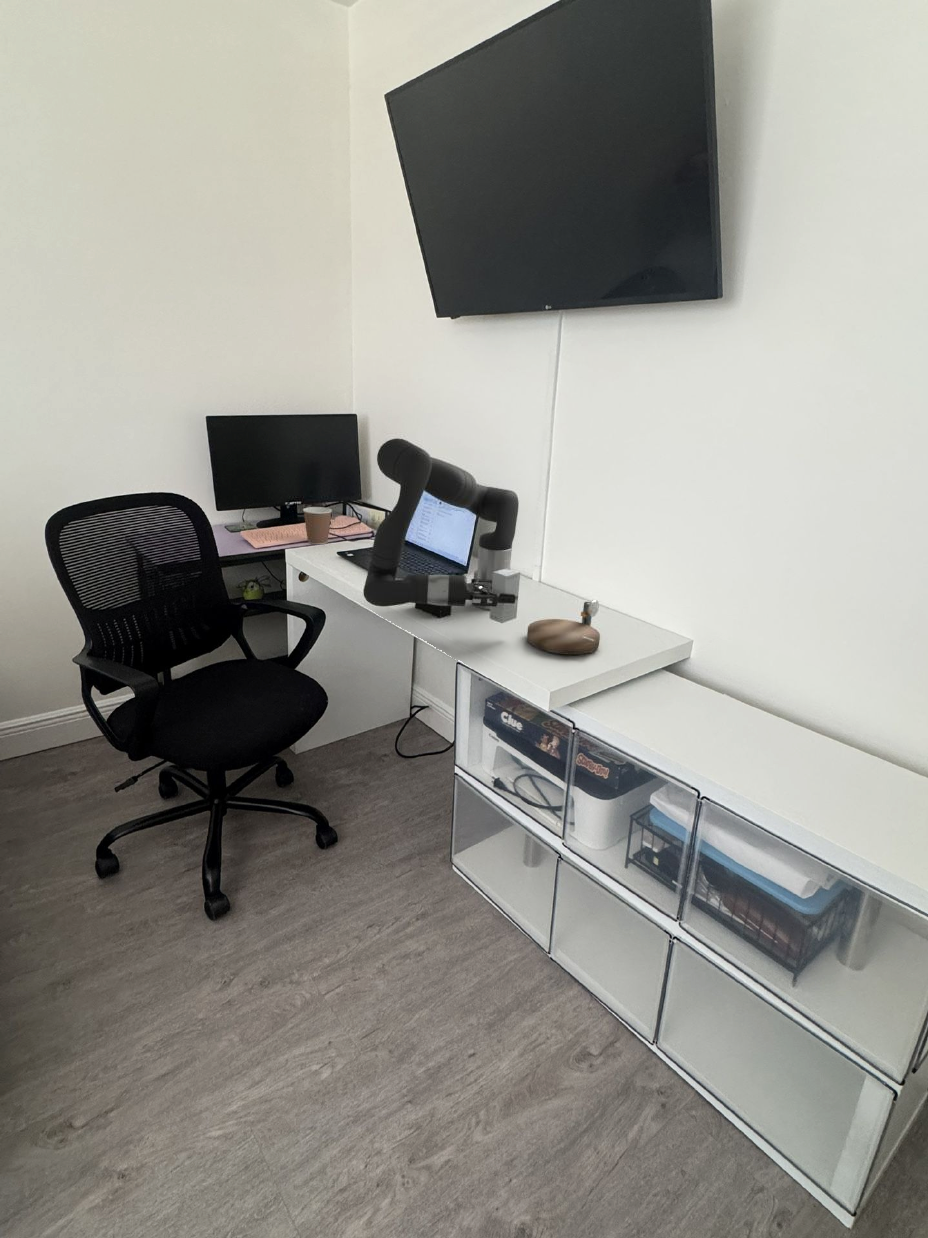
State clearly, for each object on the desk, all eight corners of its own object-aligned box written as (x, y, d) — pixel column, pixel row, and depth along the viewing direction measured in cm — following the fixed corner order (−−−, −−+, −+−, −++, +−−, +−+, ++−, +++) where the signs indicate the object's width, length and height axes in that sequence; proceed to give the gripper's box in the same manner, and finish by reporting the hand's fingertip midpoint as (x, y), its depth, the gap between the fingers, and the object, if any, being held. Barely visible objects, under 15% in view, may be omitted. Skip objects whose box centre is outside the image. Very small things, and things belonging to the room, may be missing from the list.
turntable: (512, 639, 174) (513, 630, 173) (551, 622, 188) (552, 613, 187) (575, 660, 164) (577, 650, 163) (611, 641, 177) (612, 632, 176)
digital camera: (454, 614, 191) (456, 590, 189) (439, 618, 187) (441, 593, 185) (429, 604, 198) (430, 580, 196) (414, 608, 194) (415, 584, 192)
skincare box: (502, 623, 170) (506, 576, 166) (488, 618, 173) (491, 571, 169) (517, 618, 175) (521, 571, 170) (503, 613, 177) (507, 567, 173)
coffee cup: (336, 540, 260) (336, 508, 256) (325, 546, 251) (324, 513, 247) (310, 537, 262) (310, 505, 258) (298, 543, 253) (297, 510, 249)
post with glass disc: (586, 636, 182) (590, 602, 178) (576, 633, 183) (580, 599, 180) (595, 631, 185) (599, 598, 182) (585, 628, 187) (589, 595, 184)
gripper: (447, 584, 163) (518, 588, 164) (447, 567, 176) (512, 570, 177) (445, 614, 165) (515, 618, 166) (446, 595, 179) (510, 598, 180)
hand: (513, 593), depth 172 cm, fingers closed on skincare box, 7 cm apart
